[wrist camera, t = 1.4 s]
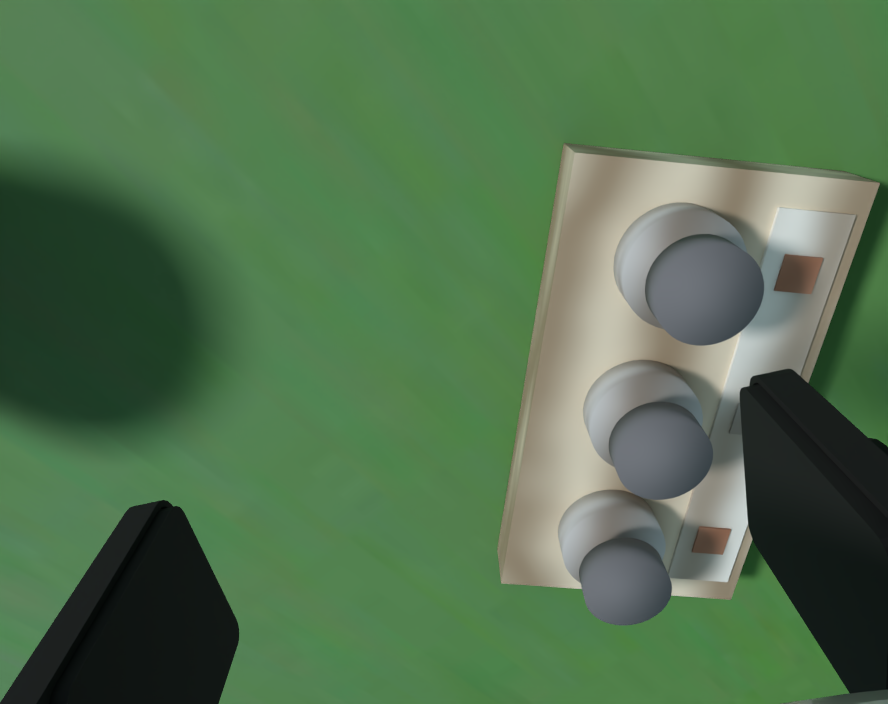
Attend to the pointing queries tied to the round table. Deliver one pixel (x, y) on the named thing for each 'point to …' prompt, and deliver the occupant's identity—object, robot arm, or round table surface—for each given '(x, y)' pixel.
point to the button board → (662, 351)
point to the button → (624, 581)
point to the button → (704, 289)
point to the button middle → (660, 450)
